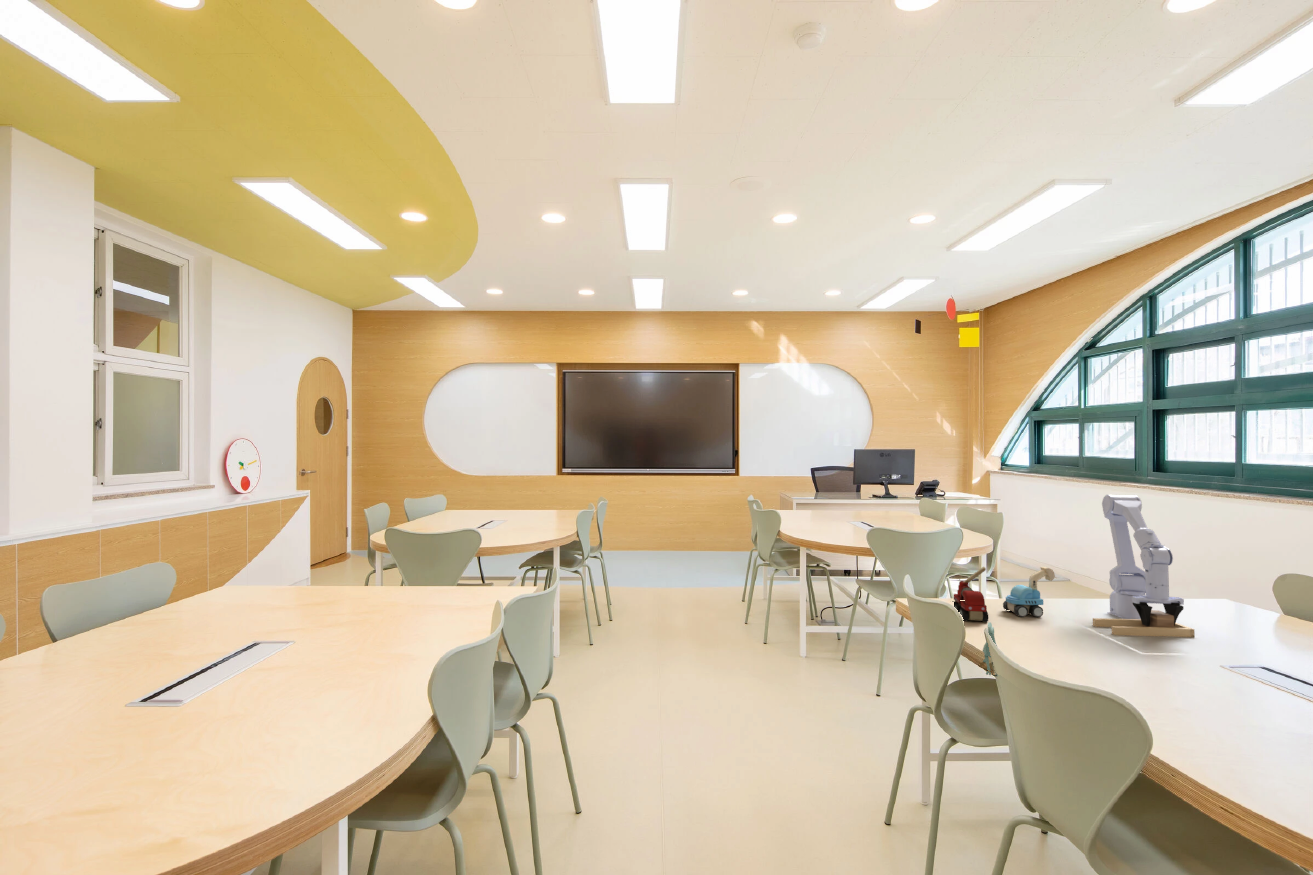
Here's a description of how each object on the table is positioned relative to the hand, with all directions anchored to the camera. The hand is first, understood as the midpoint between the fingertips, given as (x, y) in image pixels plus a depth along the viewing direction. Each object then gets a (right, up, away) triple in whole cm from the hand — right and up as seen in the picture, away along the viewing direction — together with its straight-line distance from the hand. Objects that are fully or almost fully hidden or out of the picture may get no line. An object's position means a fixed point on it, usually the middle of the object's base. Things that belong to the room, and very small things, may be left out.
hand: (1158, 625), depth 179 cm
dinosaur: (-72, -2, -28) cm, 77 cm away
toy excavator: (-27, -3, +21) cm, 35 cm away
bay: (-5, -3, 0) cm, 6 cm away
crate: (0, -2, 0) cm, 2 cm away
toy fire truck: (-51, -3, +18) cm, 54 cm away
